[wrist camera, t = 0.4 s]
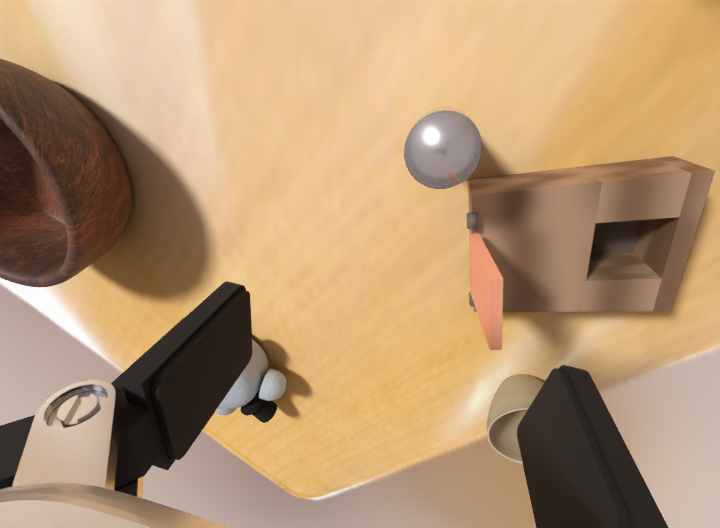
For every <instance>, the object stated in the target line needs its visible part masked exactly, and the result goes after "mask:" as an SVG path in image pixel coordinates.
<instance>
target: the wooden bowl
mask: <svg viewBox="0 0 720 528" xmlns="http://www.w3.org/2000/svg"><path fill="white" fill-rule="evenodd" d="M131 209H132V190H131V184H130V179H129V175H128V172H127V169H126V166H125V163H124V161H123V159H122V156H121V154H120V152H119V150H118V149H117V147H116V145H115V143H114V141H113V140H112V138H111V137H110V135H109V134H108V132H107V131H106V130H105V128H104V127H103V126H102V124H101V123H100V122H99V121H98V120H97V118H96V117H95V116H94V115H93V114H92V113H91V112H90V111H89V110H88V109H87V108H86V107H85V106H84V105H83V104H82V103H81V102H80V101H79V100H78V99H77V98H75V97H74V96H73V95H72V94H71V93H69V92H68V91H66V90H65V89H64V88H62V87H61V86H59V85H57V84H56V83H54V82H52V81H51V80H49V79H47V78H45V77H44V76H42V75H40V74H38V73H36V72H33V71H31V70H29V69H27V68H24V67H22V66H20V65H17V64H15V63H12V62H9V61H6V60H3V59H0V278H3V279H5V280H8V281H11V282H14V283H18V284H21V285H26V286H31V287H48V286H53V285H57V284H60V283H63V282H65V281H67V280H69V279H70V278H72V277H73V276H75V275H77V274H78V273H79V272H81V271H82V270H84V269H85V268H86V267H88V266H89V265H91V264H92V263H93V262H94V261H96V260H97V259H98V258H100V257H101V256H102V255H103V254H104V253H106V252H107V251H108V250H109V249H110V248H111V247H112V246H113V244H114V243H115V242H116V241H117V240H118V239H119V237H120V236H121V234H122V232H123V231H124V229H125V227H126V225H127V223H128V220H129V218H130V214H131Z"/></svg>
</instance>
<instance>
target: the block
mask: <svg viewBox="0 0 720 528" xmlns="http://www.w3.org/2000/svg"><path fill="white" fill-rule="evenodd" d="M714 173H715V171H714V170H711V169H708V168H705V167H702V166H699V165H697V164H694V163H691V162H688V161H685V160H682V159H679V158H676V157H673V156H672V157H663V158H654V159H645V160H637V161H628V162H619V163H610V164H602V165H593V166H584V167H576V168H567V169H558V170H549V171H541V172H532V173H523V174H514V175H506V176H497V177H488V178H480V179H471V180H468V187H469V213H467V228H468V229H470V234H476V233H479V234H480V236H481V238H482V240H483V242H484V244H485V246H486V247H487V249H488V251H489V253H490V255H491V257H492V259H493V260H494V262H495V264H496V266H497V268H498V270H499V272H500V273H501V275H502V277H503V312H583V311H671V310H672V307H673V303H674V300H675V297H676V294H677V291H678V288H679V284H680V281H681V278H682V275H683V272H684V268H685V265H686V262H687V259H688V256H689V252H690V249H691V246H692V243H693V240H694V237H695V233H696V230H697V227H698V224H699V221H700V217H701V214H702V211H703V208H704V205H705V201H706V198H707V195H708V192H709V189H710V186H711V182H712V179H713V176H714ZM469 304H470V306H472V307H474V312H477V311H476V308H475V305H474V302H473V299H472V296H471V292H470V293H469Z"/></svg>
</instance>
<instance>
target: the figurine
mask: <svg viewBox="0 0 720 528" xmlns="http://www.w3.org/2000/svg"><path fill="white" fill-rule="evenodd" d="M252 350H253V352H252V357H251V360H250V362H249V363H248V365H247V366H246V368H245V369H244V370H243V372H242V373H241V375H240V376H239V378H238V379H237V381H236V382H235V383H234V385H233V386H232V388H231V389H230V391H229V392H228V393H227V395H226V396H225V398H224V399H223V401H222V402H221V404H220V405H219V406H218V408H217V409H216V411H215V412H216V413H218V414H219V415H228V414H231V413H232V412H234V411H235V410H236V408H238V407H241V412H242V413H243V414H244V415H251V414H252V415H253V416H255V417H256V418H257V419H259V420H260V421H261V422H263V423H265V422H268V421H269V420H270V419H272V417H273V416H274V414H275V412H276V410H277V405H276V404H275V403H274V402H273V400H276V399H278V398H280V397H281V396H282V395H283V393H284V391H285V389H286V383H287V382H286V378H285V376H284V375H283V374H282V373H281V372H280V371H277V370H274V369H269V370H268V367H269V364H268V358H267V356H266V354H265V352H264V351H263V349H262V348H261V347H260V346H259V345H258V344H257V343H256V342H255V341H254V340H253V339H252ZM267 371H268V372H267ZM266 373H267V374H266ZM262 382H263V383H262ZM261 384H262V385H261ZM260 386H261V387H260Z"/></svg>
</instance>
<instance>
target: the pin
mask: <svg viewBox="0 0 720 528" xmlns="http://www.w3.org/2000/svg"><path fill="white" fill-rule="evenodd" d="M481 151H482V143H481V137H480V134H479V131H478V129H477V127H476V126H475V124H474V123H473V121H472V120H471V119H470V118H469V117H468V116H467V115H465V114H464V113H462V112H460V111H457V110H454V109H452V108H448V107H444V108H440V109H437V110H435V111H432V112H430V113H428V114H426V115H425V116H423V117H422V118H421V119H420V120H419V121H418V122H417V123H416V124H415V125H414V127H413V128H412V130H411V131H410V133H409V135H408V137H407V140H406V143H405V148H404V158H405V163H406V166H407V168H408V170H409V172H410V174H411V175H412V176H413V177H414V179H416V180H417V181H418V182H419V183H421V184H423V185H424V186H427V187H430V188H434V189H445V188H450V187H453V186H456V185H458V184H460V183H462V182H463V181H464V180H466V179H467V178H468V177H469V176H470V175H471V174H472V173H473V171H474V170H475V168H476V167H477V165H478V163H479V160H480V157H481Z"/></svg>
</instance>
